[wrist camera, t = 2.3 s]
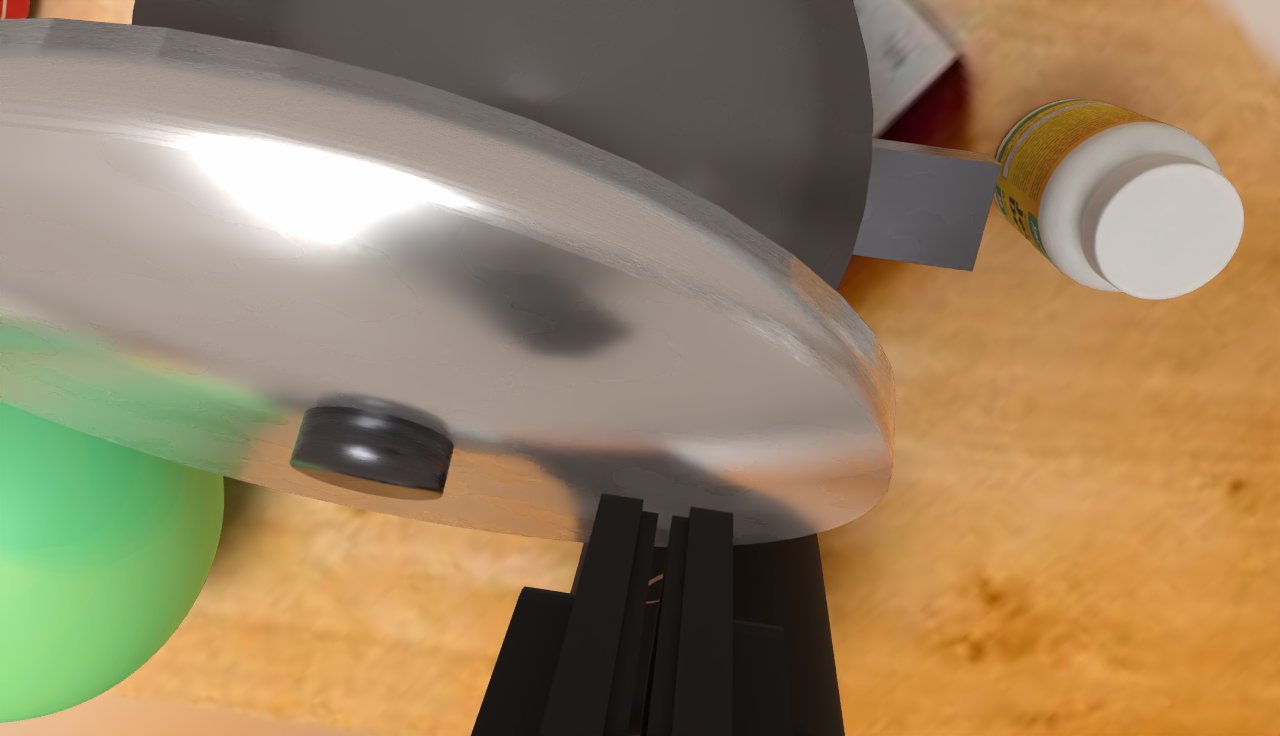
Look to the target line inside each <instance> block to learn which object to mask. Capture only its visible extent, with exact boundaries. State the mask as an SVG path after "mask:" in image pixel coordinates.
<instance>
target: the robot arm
mask: <svg viewBox="0 0 1280 736" xmlns="http://www.w3.org/2000/svg"><path fill="white" fill-rule="evenodd" d="M643 502H644V499H638V498H631V497H625V496H618V495H612V494H605V493H602V494H601V497H600V501H599V505H598V509H597V513H596V517H595V521H594V525H593V528H592V532H591V536H590V540H589V544H588V548H587V552H586V556H585V560H584V563H583V567H582V571H581V575H580V579H579V583H578V587H577V591H576V594H570V593H564V592H557V591H551V590H544V589H538V588H532V587H524V588H523V589H522V591H521V593H520V596H519V598H518V601H517V604H516V607H515V610H514V613H513V615H512V618H511V621H510V624H509V627H508V630H507V633H506V636H505V639H504V641H503V644H502V647H501V650H500V653H499V656H498V659H497V662H496V664H495V667H494V670H493V673H492V676H491V679H490V682H489V685H488V688H487V690H486V693H485V696H484V699H483V702H482V705H481V708H480V711H479V714H478V716H477V719H476V722H475V725H474V728H473V731H472V734H471V736H627V733H628V726H629V719H630V712H631V705H632V698H633V691H634V683H635V676H636V669H637V662H638V655H639V648H640V641H641V634H642V627H643V620H644V613H645V606H646V599H647V592H648V585H649V578H650V571H651V564H652V557H653V550H654V543H655V536H656V529H657V522H658V515H659V513H654V512H648V511H642V510H643ZM640 736H792V725H791V711H790V698H789V684H788V671H787V657H786V643H785V635H784V630H783V628H782V627H781V626H775V625H769V624H762V623H756V622H749V621H743V620H737V619H733V513H731V512H724V511H718V510H711V509H704V508H698V507H690V511H689V516H688V518H687V517H681V516H674V515H672V520H671V526H670V533H669V539H668V546H667V552H666V559H665V565H664V572H663V578H662V585H661V591H660V598H659V604H658V611H657V617H656V624H655V630H654V637H653V644H652V650H651V657H650V663H649V670H648V676H647V683H646V690H645V697H644V705H643V712H642V720H641V728H640Z"/></svg>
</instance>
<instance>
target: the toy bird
mask: <svg viewBox="0 0 1280 736" xmlns="http://www.w3.org/2000/svg"><path fill="white" fill-rule="evenodd" d="M223 513H224V481H223V476H222V475H219V474H215V473H211V472H208V471H204V470H201V469H197V468H194V467H190V466H187V465H184V464H180V463H177V462H174V461H170V460H167V459H163V458H160V457H157V456H153V455H150V454H147V453H144V452H141V451H138V450H135V449H132V448H129V447H125V446H122V445H119V444H116V443H113V442H110V441H107V440H104V439H101V438H98V437H95V436H92V435H90V434H87V433H84V432H81V431H78V430H75V429H73V428H70V427H67V426H64V425H61V424H58V423H55V422H53V421H50V420H48V419H45V418H42V417H40V416H37V415H35V414H32V413H29V412H27V411H24V410H22V409H19V408H16V407H14V406H11V405H8V404H6V403H4V402H1V401H0V723H3V722H13V721H20V720H27V719H31V718H37V717H41V716H45V715H49V714H53V713H56V712H59V711H62V710H65V709H68V708H71V707H73V706H76V705H78V704H81V703H83V702H85V701H88V700H90V699H92V698H94V697H96V696H98V695H100V694H102V693H103V692H105V691H107V690H109V689H110V688H112V687H114V686H115V685H117V684H118V683H120V682H121V681H123V680H124V679H126V678H127V677H128V676H130V675H131V674H132V673H134V672H135V671H136V670H138V669H139V668H140V667H141V666H142V665H143V664H145V663H146V662H147V661H148V660H149V659H150V658H151V657H152V656H153V655H154V654H155V653H156V652H157V651H158V650H159V649H160V648H161V647H162V646H163V645H164V644H165V643H166V641H167V640H168V639H169V638H170V637H171V635H172V634H173V633H174V632H175V630H176V629H177V628H178V627H179V625H180V624H181V622H182V621H183V620H184V618H185V617H186V615H187V614H188V612H189V611H190V609H191V607H192V606H193V604H194V602H195V601H196V599H197V597H198V595H199V593H200V591H201V589H202V587H203V585H204V583H205V581H206V579H207V576H208V574H209V571H210V569H211V566H212V564H213V561H214V558H215V555H216V551H217V548H218V544H219V539H220V535H221V529H222V523H223Z"/></svg>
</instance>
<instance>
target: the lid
mask: <svg viewBox="0 0 1280 736" xmlns="http://www.w3.org/2000/svg"><path fill="white" fill-rule="evenodd" d="M0 401H1V402H4V403H6V404H8V405H11V406H14V407H16V408H19V409H22V410H24V411H27V412H29V413H32V414H35V415H37V416H40V417H42V418H45V419H48V420H50V421H53V422H55V423H58V424H61V425H64V426H67V427H70V428H73V429H75V430H78V431H81V432H84V433H87V434H90V435H92V436H95V437H98V438H101V439H104V440H107V441H110V442H113V443H116V444H119V445H122V446H125V447H129V448H132V449H135V450H138V451H141V452H144V453H147V454H150V455H153V456H157V457H160V458H163V459H167V460H170V461H174V462H177V463H180V464H184V465H187V466H190V467H194V468H197V469H201V470H204V471H208V472H211V473H215V474H219V475H222V476H226V477H230V478H233V479H237V480H241V481H244V482H248V483H252V484H256V485H260V486H264V487H268V488H272V489H276V490H280V491H284V492H288V493H292V494H296V495H300V496H305V497H309V498H313V499H318V500H322V501H326V502H331V503H335V504H340V505H345V506H349V507H354V508H359V509H364V510H368V511H373V512H378V513H383V514H389V515H394V516H399V517H404V518H410V519H415V520H420V521H426V522H432V523H438V524H444V525H450V526H456V527H462V528H469V529H475V530H482V531H489V532H496V533H503V534H511V535H519V536H527V537H536V538H544V539H553V540H564V541H574V542H585V543H589V540H590V536H591V532H592V528H593V525H594V521H595V517H596V513H597V509H598V505H599V501H600V497H601V494H602V493H605V494H612V495H618V496H625V497H631V498H638V499H644V502H643V510H642V511H648V512H654V513H659V515H658V522H657V529H656V536H655V543H654V546H657V547H667V546H668V539H669V533H670V526H671V520H672V515H674V516H681V517H687V518H688V516H689V511H690V507H698V508H704V509H711V510H718V511H724V512H731V513H733V545H745V544H756V543H767V542H774V541H780V540H787V539H793V538H799V537H804V536H808V535H812V534H815V533H819V532H823V531H827V530H831V529H833V528H836V527H838V526H841V525H843V524H846V523H848V522H851V521H853V520H855V519H857V518H858V517H860V516H861V515H863V514H865V513H866V512H868V511H869V510H871V509H872V508H874V507H875V506H876V504H877V503H878V502H879V501H880V500H881V498H882V497H883V496H884V495H885V494H886V492H887V491H888V487H889V483H890V479H891V475H892V467H893V448H894V430H895V411H896V390H895V385H894V379H893V373H892V367H891V365H890V363H889V361H888V359H887V357H886V355H885V354H884V352H883V350H882V348H881V346H880V344H879V342H878V340H877V338H876V336H875V334H874V333H873V332H872V331H871V329H870V328H869V327H868V326H867V325H866V323H865V322H864V321H863V320H862V319H861V318H860V316H859V315H858V314H857V313H856V312H855V311H854V309H853V308H852V307H851V306H850V305H849V304H848V302H847V301H846V300H845V299H844V298H843V297H842V295H840V294H839V293H838V292H837V291H836V290H834V289H833V288H832V287H831V286H830V285H829V284H827V283H826V282H825V281H824V280H823V279H821V278H820V277H819V276H818V275H817V274H816V273H814V272H813V271H812V270H811V269H810V268H808V267H807V266H806V265H805V264H804V263H803V262H801V261H800V260H799V259H798V258H797V257H795V256H794V255H793V254H792V253H790V252H789V251H787V250H785V249H784V248H782V247H781V246H779V245H778V244H776V243H775V242H773V241H772V240H770V239H769V238H767V237H766V236H764V235H763V234H761V233H759V232H758V231H756V230H755V229H753V228H752V227H750V226H749V225H747V224H746V223H744V222H743V221H741V220H740V219H738V218H737V217H735V216H734V215H732V214H730V213H729V212H727V211H726V210H724V209H722V208H720V207H718V206H717V205H715V204H713V203H711V202H709V201H707V200H705V199H703V198H701V197H699V196H697V195H695V194H694V193H692V192H690V191H688V190H686V189H684V188H682V187H680V186H678V185H676V184H674V183H673V182H671V181H669V180H667V179H665V178H663V177H661V176H659V175H657V174H655V173H653V172H652V171H650V170H648V169H646V168H644V167H642V166H640V165H638V164H636V163H633V162H631V161H629V160H626V159H624V158H621V157H619V156H617V155H614V154H612V153H610V152H607V151H605V150H602V149H600V148H598V147H595V146H593V145H591V144H588V143H586V142H583V141H581V140H579V139H576V138H574V137H572V136H569V135H567V134H564V133H562V132H560V131H557V130H555V129H553V128H550V127H548V126H545V125H543V124H541V123H538V122H536V121H533V120H530V119H527V118H524V117H521V116H519V115H516V114H513V113H510V112H507V111H504V110H501V109H498V108H495V107H492V106H489V105H486V104H483V103H480V102H477V101H474V100H471V99H468V98H465V97H462V96H459V95H456V94H453V93H450V92H447V91H444V90H441V89H438V88H435V87H432V86H429V85H426V84H423V83H420V82H417V81H413V80H409V79H405V78H401V77H397V76H394V75H390V74H386V73H382V72H378V71H374V70H370V69H366V68H362V67H358V66H354V65H350V64H347V63H343V62H339V61H335V60H331V59H327V58H323V57H319V56H315V55H311V54H307V53H303V52H299V51H296V50H291V49H286V48H280V47H274V46H268V45H263V44H257V43H251V42H246V41H240V40H234V39H228V38H223V37H217V36H211V35H206V34H200V33H194V32H188V31H183V30H177V29H171V28H162V27H151V26H139V25H128V24H116V23H105V22H94V21H82V20H71V19H59V18H33V19H0Z"/></svg>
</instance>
